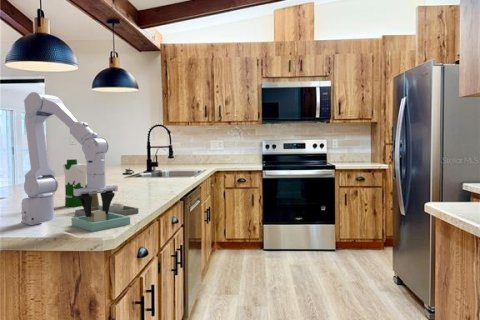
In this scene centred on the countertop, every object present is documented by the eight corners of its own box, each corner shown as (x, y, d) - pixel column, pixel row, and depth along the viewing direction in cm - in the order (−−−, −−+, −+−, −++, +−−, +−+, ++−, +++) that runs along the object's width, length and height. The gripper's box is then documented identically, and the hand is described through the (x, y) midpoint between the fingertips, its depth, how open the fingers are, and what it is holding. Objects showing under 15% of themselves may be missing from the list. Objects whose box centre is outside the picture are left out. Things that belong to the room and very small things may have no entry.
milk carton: (61, 206, 165) (60, 159, 164) (80, 203, 172) (79, 158, 171) (74, 207, 160) (73, 160, 159) (92, 204, 168) (91, 159, 166)
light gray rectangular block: (104, 218, 136) (104, 206, 135) (98, 216, 138) (98, 205, 138) (114, 216, 139) (114, 205, 138) (108, 214, 141) (108, 204, 141)
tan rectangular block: (94, 225, 124) (94, 213, 124) (88, 223, 126) (87, 211, 126) (105, 223, 127) (105, 211, 127) (99, 221, 129) (99, 210, 129)
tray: (96, 222, 132) (96, 214, 131) (75, 216, 141) (75, 209, 141) (138, 214, 144) (138, 208, 144) (116, 210, 154) (116, 204, 154)
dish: (92, 233, 116) (92, 223, 115) (71, 227, 124) (71, 217, 124) (130, 225, 126) (130, 216, 125) (108, 220, 134) (108, 212, 134)
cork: (95, 209, 156) (94, 182, 156) (103, 211, 152) (102, 183, 152) (81, 211, 152) (80, 183, 151) (88, 213, 148) (88, 185, 147)
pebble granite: (116, 213, 143) (116, 204, 143) (110, 212, 146) (110, 203, 146) (125, 212, 147) (125, 203, 146) (119, 211, 149) (119, 202, 149)
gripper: (80, 176, 117) (81, 220, 118) (122, 173, 128) (123, 213, 129) (69, 175, 122) (70, 217, 123) (111, 172, 133) (111, 211, 134)
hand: (96, 215), depth 126 cm, fingers open, 5 cm apart
